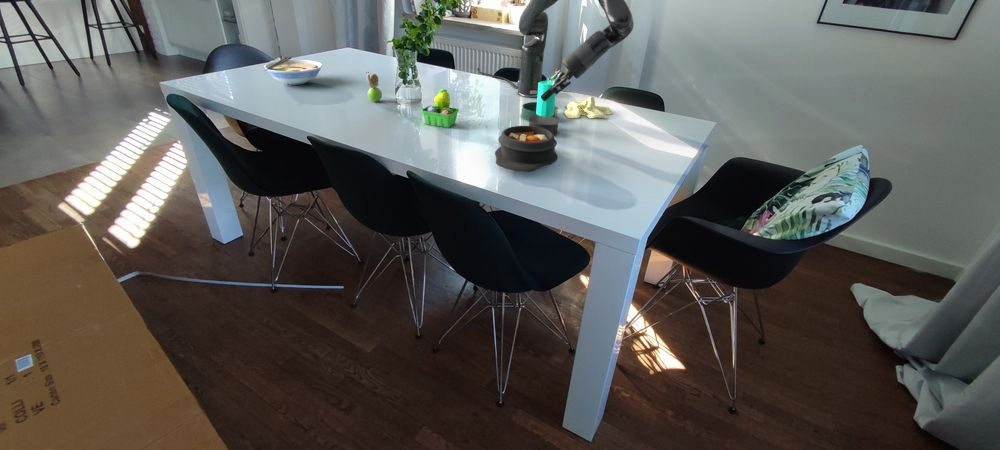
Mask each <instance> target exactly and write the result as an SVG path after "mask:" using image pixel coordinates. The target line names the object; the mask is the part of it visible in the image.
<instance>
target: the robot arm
mask: <svg viewBox="0 0 1000 450" xmlns="http://www.w3.org/2000/svg"><path fill="white" fill-rule="evenodd" d="M558 1H559V0H530V1H529V2H528V3H527V5H526V6H525V8H524V9H523V11H522V13H521V15H520V18H519V21H518V30H519V32H520V34H522V35H523V36H525V37H526V36H528V37H531V36H532V37H533V38H532V39H531V40H530V41H529V42H527V43H524V44H523V45H522V46H521V57H520V70H519V72H518V81H517V85H515V84H514V82H512V81H511V80H509V79H508V78H506V77H502V76H499V75H494V74H490V73H486V72H482V71H480V67H477V68H476V71H477V72H478V74H480V75H484V76H489V77H492V78H497V79H501V80H503V81H506V82H508V83H509V84H510V85H511V86H512V87H513V88H514V89H517V93H518V95H519V96H522V97H524V98H537V97H538V85H539V82H541V81H543V80H542V78H543V69H544V68H543V67H544V58H545V57H544V56H545V55H544V54H545V50H546V49H545V48H546V44H547V36H548V30H549V16H548V14H547V12H546V10H548V9H549V8H550V7H552V6H553V5H555V4H556V3H558ZM597 2H598V4H599V5H600V7H601V9H602V10H603V11H604V14H605V17H606V19H607V21H608V24H609V25H607V26H606V27H605V28H603V29H602V30H596V31H595V32H594V33H592V34H591V35H590V36H589V37H588V38H587V39H586V40H585V41H584V42H582V43H581V44H580V45H578V46H576V48H575V49H574V50H573V51H572V52H570V54H569V55H568V56H566V57H565V58H564V59H563V60H562V64H563V65H564V66H563V67H562V68H561V69H560V67H557V68H556V70H554V71H553V73H552V74H551V75H550V76H549V77H547V79H546V80H545V81H549V82H553V84H552V86H551V87H550V88H549V89H550V90H549V89H548V90H547V91H546V92H544V93H543V94H542V95H541V98H542V100H543V101H546V100H547V99H548V98H549V97H550V96H551V95H553V94H555V93H556V95H558V94H559V93H560V92H562V91H563V90H564V89H566V88H567V87H569V86H570V85H571V84H572V82H571V81H570V80H571V79H572V78H575V79H577V80H578V79H579V78H580V77H581V76H583V75H584V74H585V73H586V72H587V71H588V70H589V69H590V68H591V67H593V66H594V65H595V64H596V62H598V60H599V59H600V58H601V57H602V56H603V55H605V54H606V53H607V52H608V50H610V49H612V48H613V47H615V46H616V45H618V44H619V43H621V42H622V41H623V40H625V39H626V38H628V37H629V35H630V34H632V31H633V30H634V27H635V21H634V17H633V14H632V11H631V9H630V7H629V5H628V4H627V2H626V0H597ZM556 87H557V88H556Z"/></svg>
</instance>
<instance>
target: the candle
mask: <svg viewBox="0 0 1000 450" xmlns="http://www.w3.org/2000/svg"><path fill="white" fill-rule="evenodd" d="M552 84H553V82H549V81H546V80H541V82H539V85H538V97H536V98H537V99H536V102H537V110H536V114H537V115H539V116H545V117H549V116H553V115H554V108H555V106H556V98H557V94H556V93H555V94H553V95H551V96H550V97H549V98H548V99H547V100H546V101H543V100H542V98H541V95H542V94H543V93H544V92H546V91H547V90H548V89H549V88H550V87H551V86H552ZM556 88H557V87H556ZM549 90H550V89H549Z"/></svg>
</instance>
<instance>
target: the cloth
mask: <svg viewBox="0 0 1000 450" xmlns="http://www.w3.org/2000/svg"><path fill="white" fill-rule="evenodd" d="M566 108H567V109H566V110H564V115H565V116H566V117H567V118H568V119H579V118H581V116H585V117H587V118H588V119H608V117H607V115H612V109H611V108H610V107H609V106H608V105H596V100H595V97H594V96H588V97H587V98H586V99H584V100H575V101H570V102H569V103H568V104H567V105H566Z"/></svg>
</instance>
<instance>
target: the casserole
mask: <svg viewBox="0 0 1000 450" xmlns="http://www.w3.org/2000/svg"><path fill="white" fill-rule="evenodd" d="M497 141H498V143H499V144H500V147H498V148H496V150H495V152H494V155H495V164H496V165H497V166H498V167H500V168H503V169H505V170H510V171H515V172H523V173H532V172H535V171H537V170H540V169H541V168H544V167H547V166H550V165H551V166H552V164H555V163H556V162H557V161H558V159H559V155H558V153H557V152H556V146H557V144H558V143H557V140H556V139H555V135H553V133H552V132H550V131H548V130H546V129H543V128H539V127H533V126H529V125H515V126H510V127H506V128H504V129H503V130H502V131H501V134H500V135H499V137H498V139H497Z"/></svg>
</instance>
